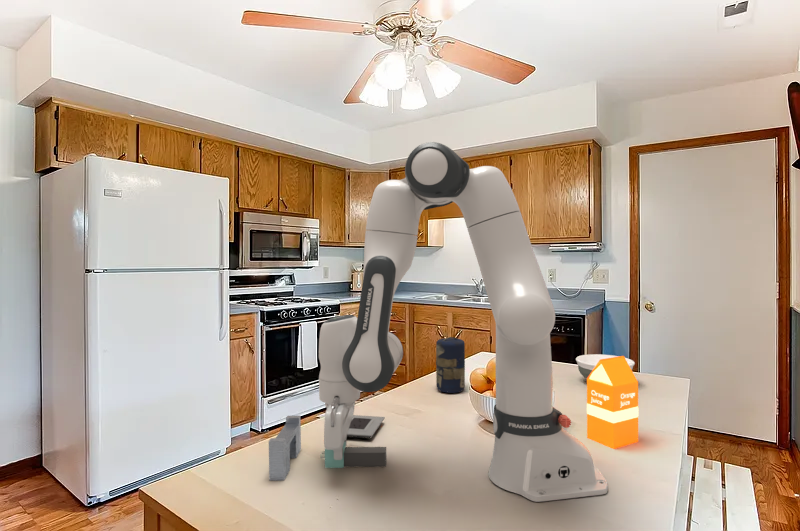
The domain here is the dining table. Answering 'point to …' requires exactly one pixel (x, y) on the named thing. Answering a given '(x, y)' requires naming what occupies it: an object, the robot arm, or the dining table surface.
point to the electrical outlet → (364, 426)
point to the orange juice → (612, 403)
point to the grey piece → (284, 448)
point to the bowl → (594, 363)
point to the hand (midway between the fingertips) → (340, 453)
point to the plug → (356, 457)
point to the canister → (450, 365)
